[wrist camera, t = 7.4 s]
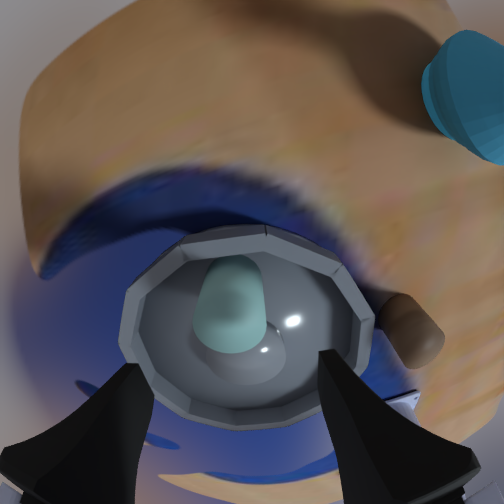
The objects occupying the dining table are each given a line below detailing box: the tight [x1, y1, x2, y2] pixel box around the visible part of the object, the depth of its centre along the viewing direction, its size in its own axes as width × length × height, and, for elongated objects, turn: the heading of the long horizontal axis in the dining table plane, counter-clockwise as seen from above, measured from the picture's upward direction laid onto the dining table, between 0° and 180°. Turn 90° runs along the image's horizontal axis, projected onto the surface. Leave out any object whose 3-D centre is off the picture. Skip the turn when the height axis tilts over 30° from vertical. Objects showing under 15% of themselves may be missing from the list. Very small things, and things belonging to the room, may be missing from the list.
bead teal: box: [192, 254, 267, 353], centre depth 15 cm, size 4×4×5 cm
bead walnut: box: [378, 294, 445, 369], centre depth 18 cm, size 4×4×5 cm
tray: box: [118, 224, 375, 431], centre depth 19 cm, size 18×18×3 cm
